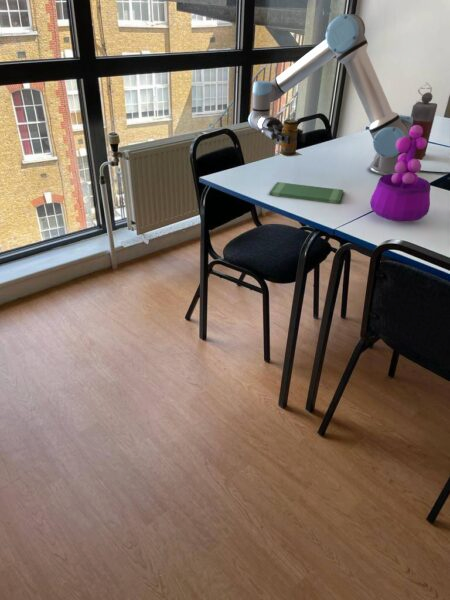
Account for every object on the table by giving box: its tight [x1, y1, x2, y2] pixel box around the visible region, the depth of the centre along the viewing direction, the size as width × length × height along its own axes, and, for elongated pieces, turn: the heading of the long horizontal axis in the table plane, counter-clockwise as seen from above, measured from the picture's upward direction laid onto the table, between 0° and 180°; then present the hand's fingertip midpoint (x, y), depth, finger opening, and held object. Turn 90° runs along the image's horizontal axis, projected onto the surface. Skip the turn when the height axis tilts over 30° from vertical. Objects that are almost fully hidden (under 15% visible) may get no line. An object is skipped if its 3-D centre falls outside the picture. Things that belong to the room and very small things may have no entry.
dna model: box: [414, 81, 433, 104], centre depth 224 cm, size 7×6×30 cm
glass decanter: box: [406, 91, 438, 161], centre depth 212 cm, size 9×11×28 cm
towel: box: [269, 181, 344, 205], centre depth 174 cm, size 26×12×1 cm, turn 71°
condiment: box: [275, 119, 303, 157], centre depth 176 cm, size 7×8×12 cm
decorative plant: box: [369, 125, 431, 223], centre depth 148 cm, size 19×18×30 cm
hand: (296, 139), depth 172 cm, fingers closed on condiment, 6 cm apart
